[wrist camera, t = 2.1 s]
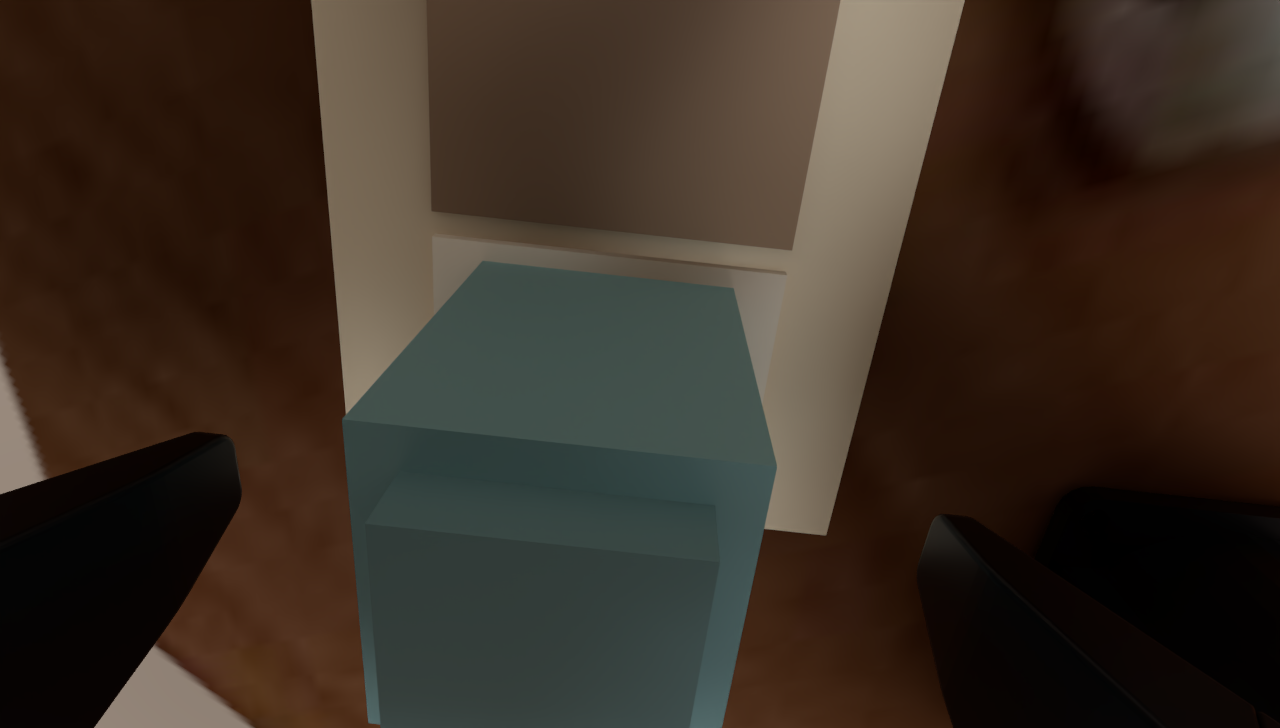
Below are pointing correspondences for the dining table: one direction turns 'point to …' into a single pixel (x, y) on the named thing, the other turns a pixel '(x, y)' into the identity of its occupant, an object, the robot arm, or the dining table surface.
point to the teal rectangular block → (559, 505)
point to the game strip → (639, 174)
